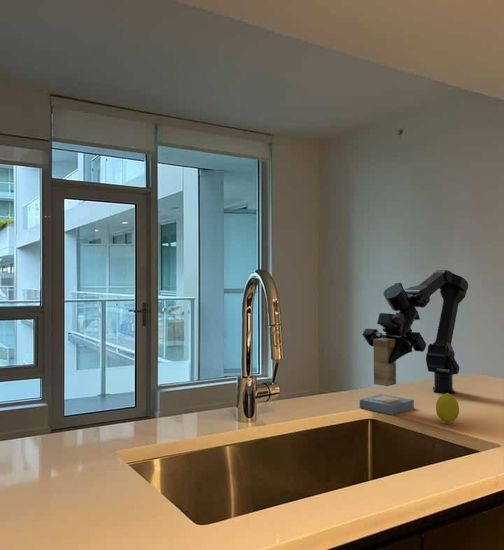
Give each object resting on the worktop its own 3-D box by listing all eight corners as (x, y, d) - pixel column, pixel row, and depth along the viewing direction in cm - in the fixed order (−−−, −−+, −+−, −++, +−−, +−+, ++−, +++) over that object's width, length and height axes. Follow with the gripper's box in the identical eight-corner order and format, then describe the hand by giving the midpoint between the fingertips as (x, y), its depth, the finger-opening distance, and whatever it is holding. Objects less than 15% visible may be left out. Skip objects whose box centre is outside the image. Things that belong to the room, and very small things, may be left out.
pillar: (382, 381, 153) (382, 338, 153) (396, 384, 150) (395, 339, 150) (373, 383, 150) (373, 339, 150) (387, 386, 147) (386, 340, 147)
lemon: (462, 427, 129) (462, 395, 130) (440, 427, 130) (440, 395, 130) (454, 421, 135) (454, 390, 135) (433, 421, 135) (432, 390, 135)
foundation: (381, 401, 157) (381, 393, 157) (413, 408, 149) (413, 399, 149) (359, 407, 150) (359, 398, 150) (392, 414, 142) (392, 405, 142)
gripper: (365, 302, 160) (343, 341, 152) (420, 304, 146) (399, 346, 138) (380, 326, 165) (360, 364, 158) (434, 330, 151) (415, 372, 144)
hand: (382, 361), depth 149 cm, fingers closed on pillar, 4 cm apart
